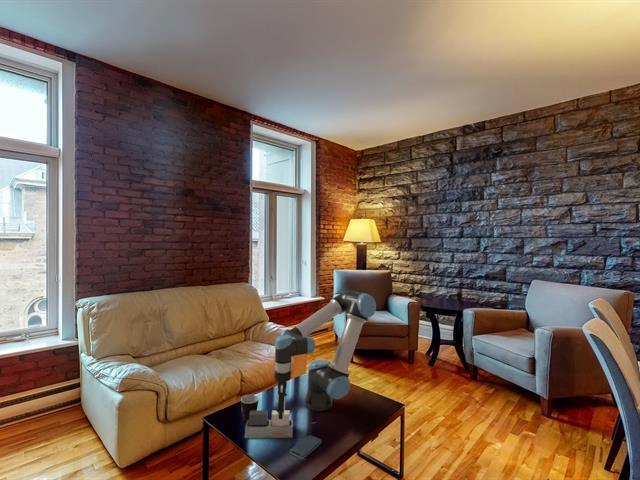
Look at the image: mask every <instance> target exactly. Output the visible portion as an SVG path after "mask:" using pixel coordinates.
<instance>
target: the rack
mask: <svg viewBox="0 0 640 480" xmlns="http://www.w3.org/2000/svg"><path fill="white" fill-rule="evenodd" d="M268 414H269V411H268V410H257V411H250V414H249V420H247V423H246V424H245V427H244V439H293V434H294V433H293V431H294V428H293V427H294V420H293V419H289V426H271V424H272V419H268Z"/></svg>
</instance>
